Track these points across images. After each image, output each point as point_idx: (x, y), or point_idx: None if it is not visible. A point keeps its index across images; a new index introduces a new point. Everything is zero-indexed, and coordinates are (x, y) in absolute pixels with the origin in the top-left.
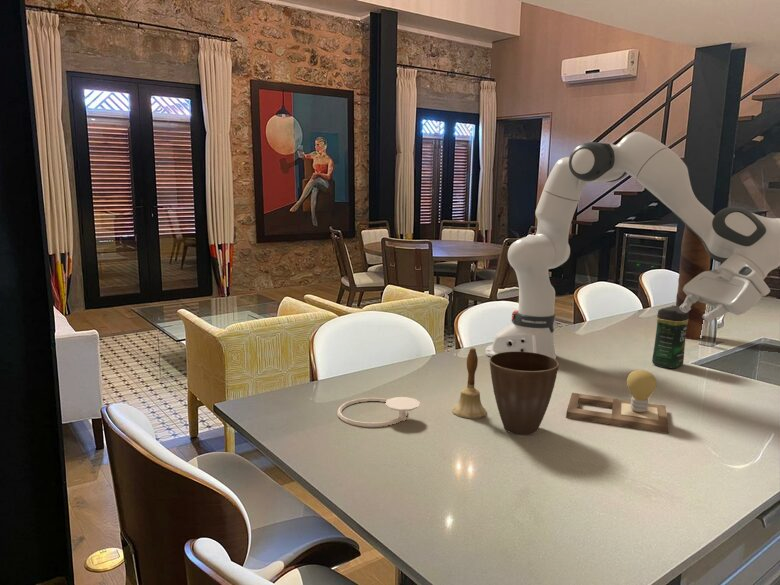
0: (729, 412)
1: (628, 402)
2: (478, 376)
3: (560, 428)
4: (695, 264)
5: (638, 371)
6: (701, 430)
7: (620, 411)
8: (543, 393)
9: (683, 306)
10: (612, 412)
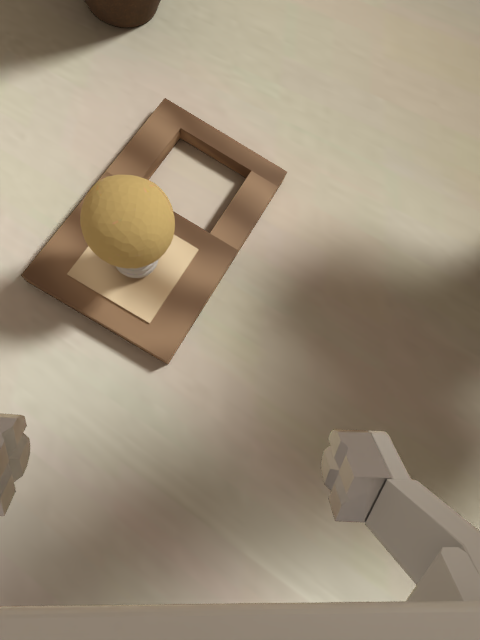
0: (132, 569)
1: (204, 272)
2: (432, 55)
3: (108, 70)
4: None
5: (123, 185)
6: (24, 382)
7: None
8: None
9: (350, 442)
10: None
